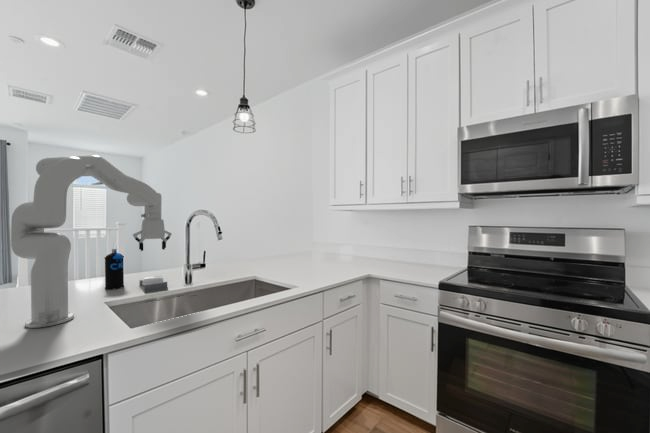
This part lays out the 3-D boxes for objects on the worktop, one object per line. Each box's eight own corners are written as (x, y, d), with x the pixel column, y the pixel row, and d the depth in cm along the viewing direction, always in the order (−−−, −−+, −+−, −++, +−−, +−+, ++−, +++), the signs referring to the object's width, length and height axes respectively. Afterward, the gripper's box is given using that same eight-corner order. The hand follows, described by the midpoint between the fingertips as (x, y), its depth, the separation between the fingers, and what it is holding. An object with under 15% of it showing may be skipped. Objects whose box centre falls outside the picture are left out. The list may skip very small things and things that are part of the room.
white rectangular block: (143, 282, 149) (142, 277, 149) (163, 280, 154) (163, 275, 154) (142, 284, 145) (142, 279, 145) (163, 282, 149) (163, 277, 149)
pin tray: (167, 289, 147) (167, 282, 147) (144, 292, 140) (144, 285, 140) (160, 283, 159) (160, 277, 159) (139, 286, 152) (139, 279, 152)
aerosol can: (100, 289, 148) (100, 249, 147) (116, 285, 155) (116, 247, 155) (112, 290, 145) (112, 250, 145) (128, 286, 153) (127, 248, 153)
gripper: (134, 216, 141) (133, 251, 141) (173, 216, 152) (173, 249, 152) (131, 216, 147) (131, 250, 147) (169, 216, 158) (169, 248, 158)
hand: (152, 250), depth 149 cm, fingers open, 9 cm apart
